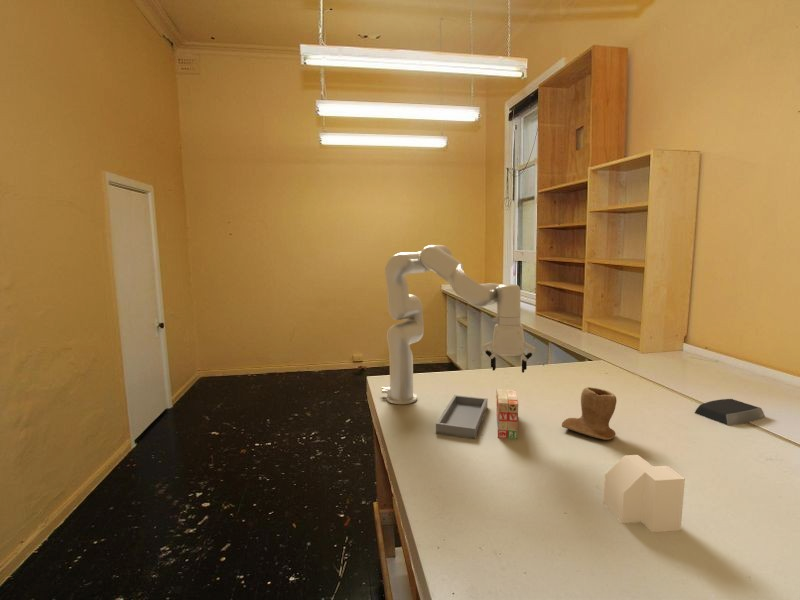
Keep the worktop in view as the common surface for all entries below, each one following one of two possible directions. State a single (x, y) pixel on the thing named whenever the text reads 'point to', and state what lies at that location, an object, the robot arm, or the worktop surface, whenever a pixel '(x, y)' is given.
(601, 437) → the brown suede boot
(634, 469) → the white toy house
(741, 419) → the external hard drive
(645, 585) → the worktop surface
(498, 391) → the stack of blocks
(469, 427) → the tray
